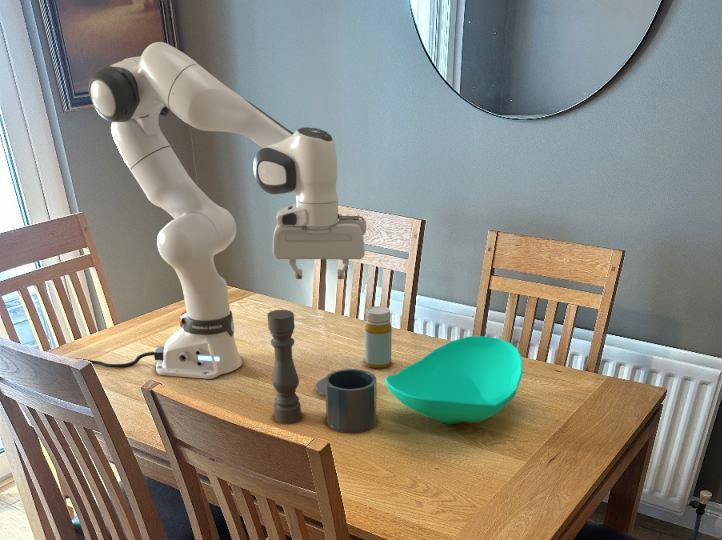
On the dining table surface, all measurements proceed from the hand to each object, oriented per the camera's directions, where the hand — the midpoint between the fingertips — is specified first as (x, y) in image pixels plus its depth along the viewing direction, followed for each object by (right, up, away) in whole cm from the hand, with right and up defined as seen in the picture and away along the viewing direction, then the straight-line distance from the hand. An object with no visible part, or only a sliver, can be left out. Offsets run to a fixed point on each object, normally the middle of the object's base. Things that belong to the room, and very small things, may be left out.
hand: (320, 278), depth 164 cm
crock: (+7, -31, +7) cm, 33 cm away
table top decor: (+31, -30, +9) cm, 44 cm away
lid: (+4, -21, +20) cm, 30 cm away
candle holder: (-8, -30, +8) cm, 33 cm away
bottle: (+13, -12, +34) cm, 39 cm away
